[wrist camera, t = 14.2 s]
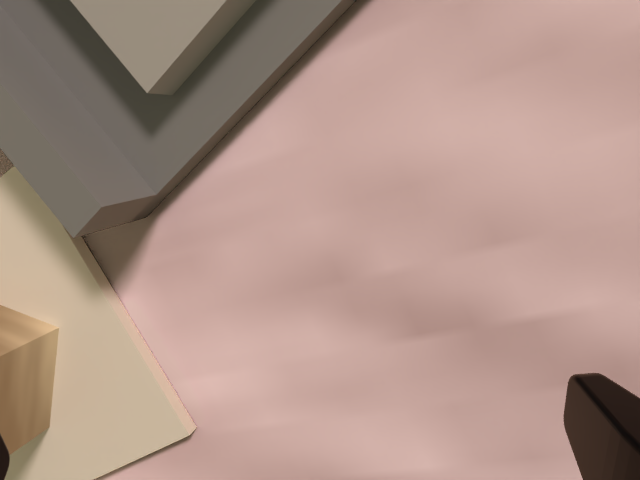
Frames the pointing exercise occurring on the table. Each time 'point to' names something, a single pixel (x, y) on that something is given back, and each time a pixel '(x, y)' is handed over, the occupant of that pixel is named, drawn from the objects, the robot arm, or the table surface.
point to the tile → (81, 350)
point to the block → (25, 376)
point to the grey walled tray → (136, 92)
